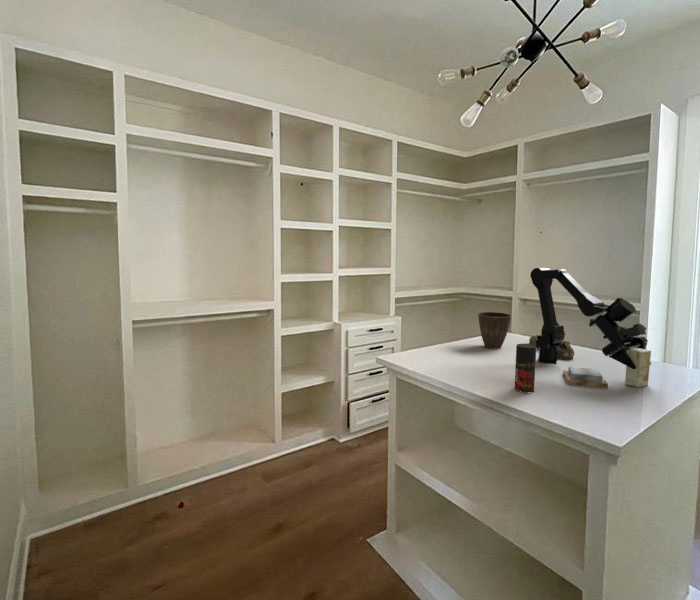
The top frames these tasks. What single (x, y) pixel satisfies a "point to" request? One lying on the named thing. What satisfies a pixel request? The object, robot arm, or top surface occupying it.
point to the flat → (563, 350)
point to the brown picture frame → (584, 377)
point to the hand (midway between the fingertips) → (642, 366)
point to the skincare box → (638, 367)
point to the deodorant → (525, 367)
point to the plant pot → (494, 328)
